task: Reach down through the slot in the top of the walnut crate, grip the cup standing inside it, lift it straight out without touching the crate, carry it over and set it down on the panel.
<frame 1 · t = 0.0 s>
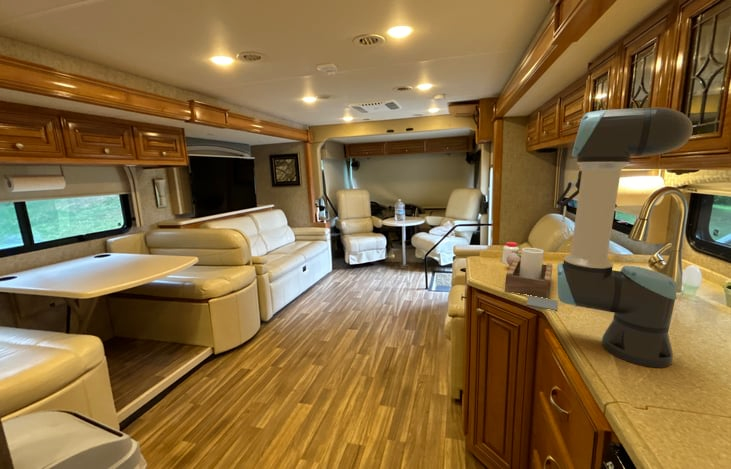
hand: (582, 223, 134), 28 cm above the worktop, fingers open, 13 cm apart
decorative fruit: (514, 270, 165), on the worktop
panel: (542, 303, 124), on the worktop
pill bottle: (509, 263, 178), on the worktop
crate: (528, 285, 143), on the worktop
cup: (528, 286, 143), resting in crate
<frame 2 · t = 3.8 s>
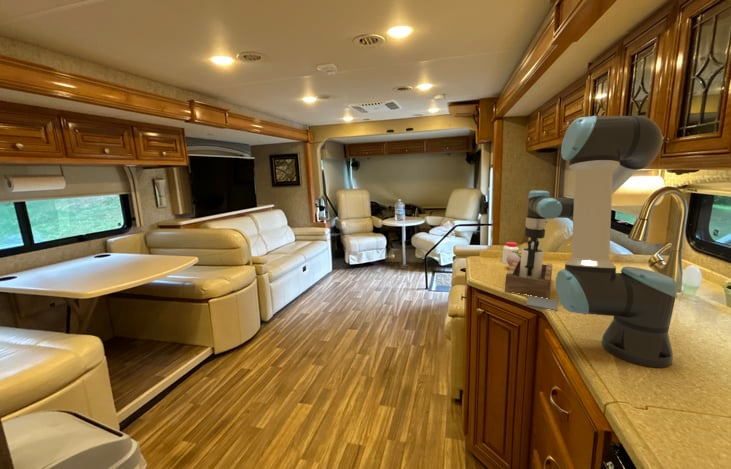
hand: (529, 279, 142), 3 cm above the worktop, fingers closed on cup, 8 cm apart
cup: (528, 286, 143), resting in crate, touching gripper
everything else where it was.
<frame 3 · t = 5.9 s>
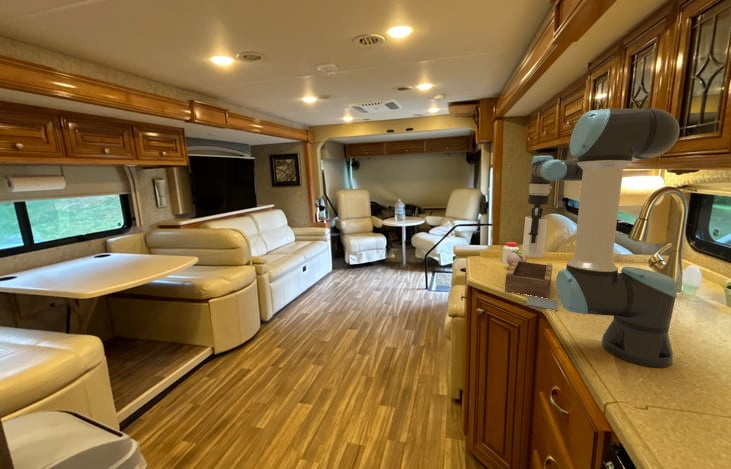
hand: (533, 248, 139), 17 cm above the worktop, fingers closed on cup, 8 cm apart
cup: (532, 255, 140), point 14 cm above the worktop, touching gripper
everything else where it was.
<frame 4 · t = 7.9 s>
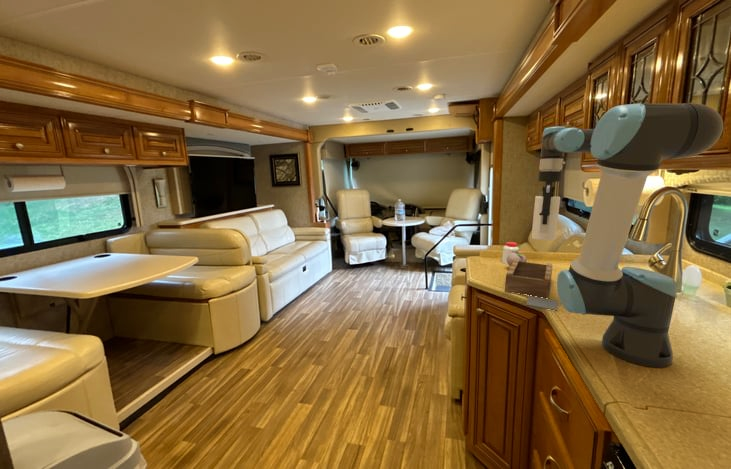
hand: (544, 231, 126), 26 cm above the worktop, fingers closed on cup, 8 cm apart
cup: (543, 238, 127), point 23 cm above the worktop, touching gripper
everything else where it was.
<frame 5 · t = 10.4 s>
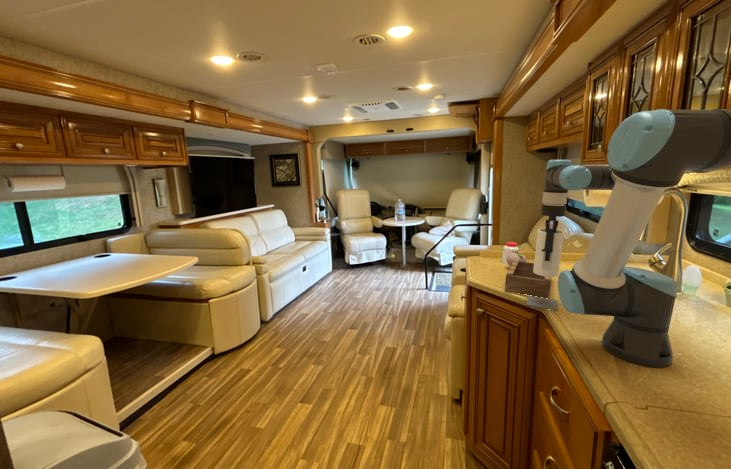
hand: (546, 266, 121), 15 cm above the worktop, fingers closed on cup, 8 cm apart
cup: (545, 273, 122), point 12 cm above the worktop, touching gripper
everything else where it was.
when the fingers open (5 cm above the worktop, at t = 12.4 s): cup drops 1 cm, resting on panel.
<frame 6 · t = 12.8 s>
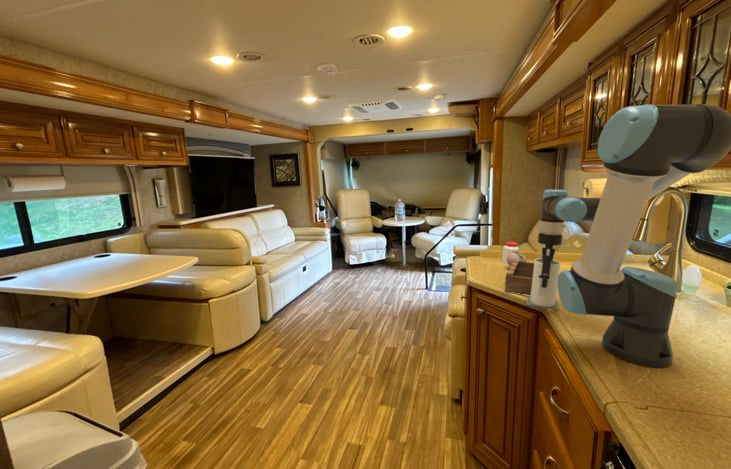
hand: (543, 290, 122), 6 cm above the worktop, fingers open, 12 cm apart
cup: (542, 302, 124), resting on panel
everything else where it was.
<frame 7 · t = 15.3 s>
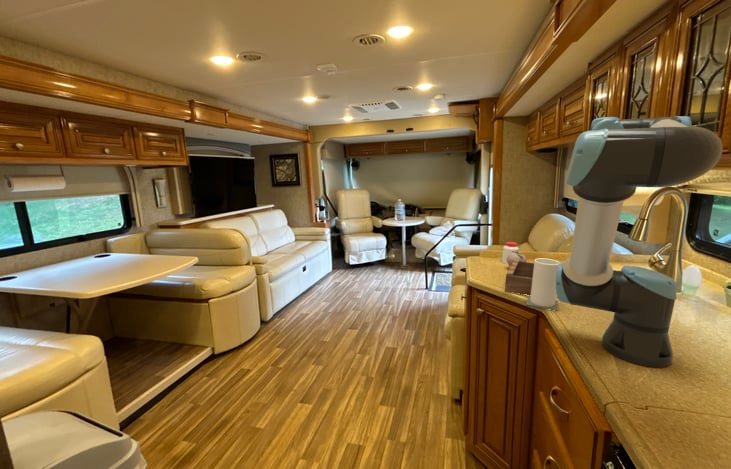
hand: (589, 230, 113), 29 cm above the worktop, fingers open, 13 cm apart
nothing on the worktop moved.
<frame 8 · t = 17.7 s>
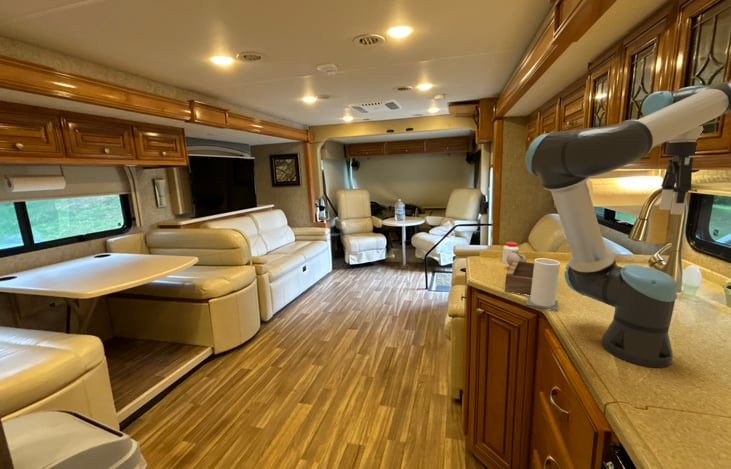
hand: (670, 211, 104), 37 cm above the worktop, fingers open, 13 cm apart
nothing on the worktop moved.
at the end: cup inside the target area on the panel (0.0 cm from its centre), point 0.4 cm above the panel's base; cup tilted 0°; the gripper is holding nothing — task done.
